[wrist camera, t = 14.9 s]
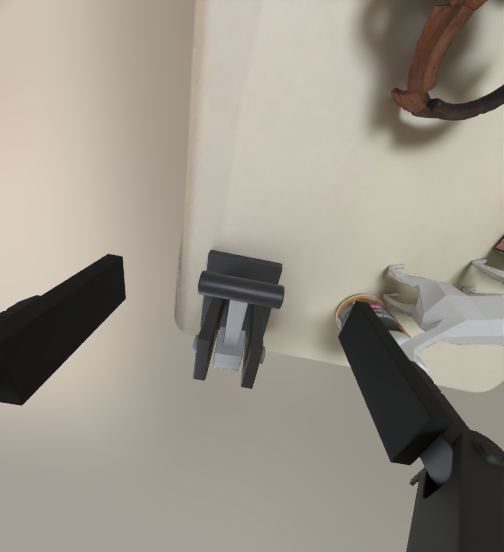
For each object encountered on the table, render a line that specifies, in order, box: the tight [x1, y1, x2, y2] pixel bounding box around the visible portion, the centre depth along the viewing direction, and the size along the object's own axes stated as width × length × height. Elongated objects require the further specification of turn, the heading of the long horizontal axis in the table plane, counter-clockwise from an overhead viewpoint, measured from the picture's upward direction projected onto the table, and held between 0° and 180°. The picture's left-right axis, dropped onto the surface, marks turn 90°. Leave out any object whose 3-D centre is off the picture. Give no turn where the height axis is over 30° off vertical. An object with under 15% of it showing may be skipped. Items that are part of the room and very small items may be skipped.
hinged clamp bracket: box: [192, 250, 282, 389], centre depth 23 cm, size 10×8×11 cm
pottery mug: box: [391, 0, 504, 121], centre depth 15 cm, size 12×9×8 cm
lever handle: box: [198, 271, 284, 371], centre depth 17 cm, size 10×5×2 cm, turn 169°
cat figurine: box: [384, 259, 504, 363], centre depth 19 cm, size 4×20×14 cm, turn 96°
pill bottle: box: [336, 294, 430, 376], centre depth 24 cm, size 6×6×10 cm
